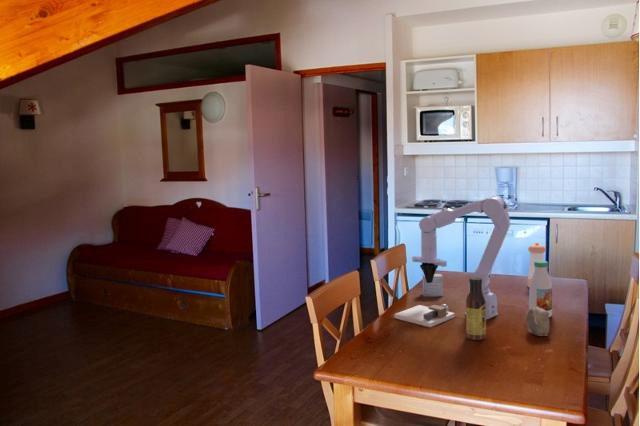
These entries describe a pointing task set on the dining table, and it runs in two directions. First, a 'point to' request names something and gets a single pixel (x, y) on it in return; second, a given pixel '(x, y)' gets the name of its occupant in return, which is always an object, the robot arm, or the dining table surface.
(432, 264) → the robot arm
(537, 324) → the grey rock
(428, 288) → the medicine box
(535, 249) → the orange-capped bottle
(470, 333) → the sauce bottle
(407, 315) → the board
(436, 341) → the dining table surface
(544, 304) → the milk bottle
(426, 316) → the steel link
